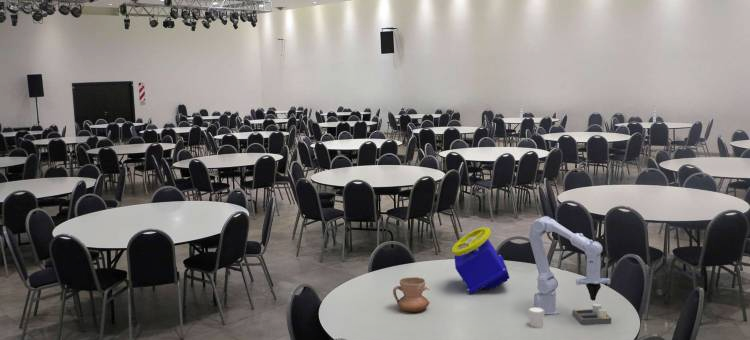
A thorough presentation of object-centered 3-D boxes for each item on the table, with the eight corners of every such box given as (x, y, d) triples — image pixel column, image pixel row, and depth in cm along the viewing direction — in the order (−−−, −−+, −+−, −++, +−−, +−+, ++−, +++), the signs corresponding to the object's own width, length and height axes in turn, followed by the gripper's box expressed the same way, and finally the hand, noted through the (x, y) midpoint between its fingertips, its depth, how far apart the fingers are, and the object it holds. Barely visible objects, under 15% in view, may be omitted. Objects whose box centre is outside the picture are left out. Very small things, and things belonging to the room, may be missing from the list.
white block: (594, 314, 276) (594, 306, 275) (592, 312, 278) (592, 304, 278) (601, 314, 276) (601, 306, 276) (598, 312, 279) (599, 303, 278)
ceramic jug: (433, 304, 298) (432, 276, 296) (428, 315, 284) (427, 285, 282) (397, 303, 302) (395, 275, 301) (390, 313, 288) (389, 284, 287)
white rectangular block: (599, 319, 270) (599, 311, 269) (596, 317, 273) (597, 309, 272) (606, 319, 270) (606, 310, 270) (603, 317, 273) (603, 308, 272)
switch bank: (582, 324, 268) (582, 319, 268) (572, 315, 280) (572, 309, 279) (611, 323, 269) (611, 317, 269) (600, 313, 280) (600, 308, 280)
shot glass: (541, 321, 273) (541, 306, 272) (546, 327, 267) (546, 312, 266) (526, 322, 273) (526, 307, 272) (530, 328, 266) (530, 312, 265)
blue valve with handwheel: (515, 265, 328) (486, 219, 324) (522, 284, 302) (490, 235, 298) (474, 288, 333) (444, 243, 329) (477, 309, 307) (445, 261, 303)
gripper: (580, 273, 265) (579, 303, 266) (613, 271, 265) (612, 302, 267) (574, 268, 272) (574, 298, 273) (606, 267, 272) (606, 296, 274)
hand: (592, 299), depth 271 cm, fingers closed
